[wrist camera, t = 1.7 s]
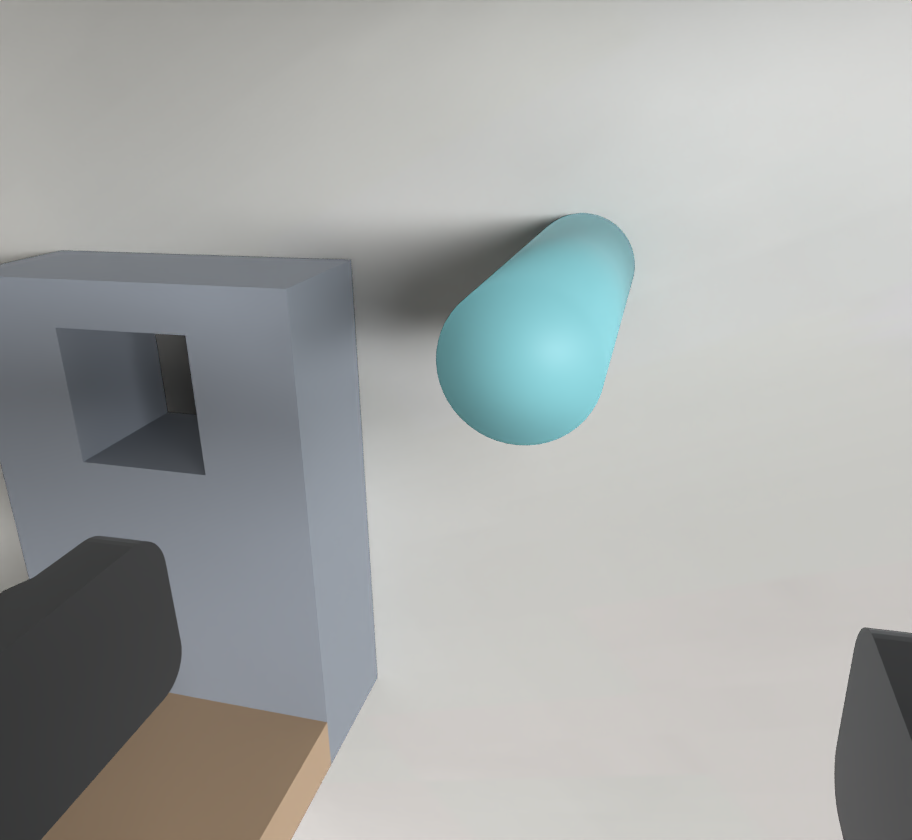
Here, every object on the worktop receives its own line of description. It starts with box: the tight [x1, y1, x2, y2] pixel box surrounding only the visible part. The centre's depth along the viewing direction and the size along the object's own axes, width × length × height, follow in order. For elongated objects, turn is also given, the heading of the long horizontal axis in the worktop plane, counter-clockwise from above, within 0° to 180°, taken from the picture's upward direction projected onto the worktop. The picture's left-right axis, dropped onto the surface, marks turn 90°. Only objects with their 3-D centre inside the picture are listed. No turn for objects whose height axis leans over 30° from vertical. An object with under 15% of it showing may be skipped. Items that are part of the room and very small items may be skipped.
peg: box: [436, 213, 635, 445], centre depth 20 cm, size 3×3×11 cm
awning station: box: [0, 251, 377, 840], centre depth 22 cm, size 18×14×22 cm
